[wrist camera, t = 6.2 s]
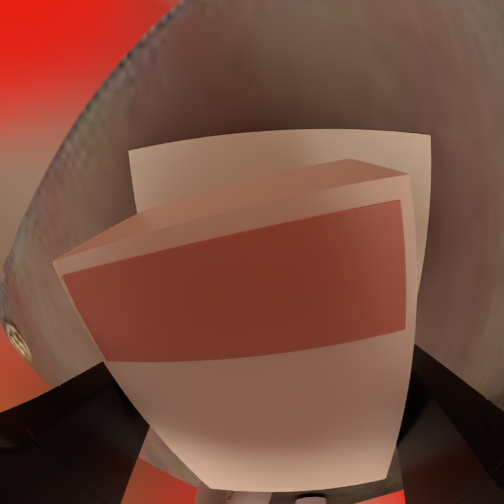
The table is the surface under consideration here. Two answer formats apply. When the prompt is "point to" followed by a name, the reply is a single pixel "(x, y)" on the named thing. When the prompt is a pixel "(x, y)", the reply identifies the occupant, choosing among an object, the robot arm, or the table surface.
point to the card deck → (262, 323)
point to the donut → (215, 500)
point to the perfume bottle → (311, 500)
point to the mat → (278, 164)
